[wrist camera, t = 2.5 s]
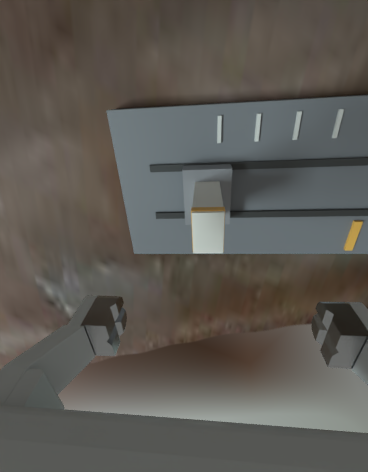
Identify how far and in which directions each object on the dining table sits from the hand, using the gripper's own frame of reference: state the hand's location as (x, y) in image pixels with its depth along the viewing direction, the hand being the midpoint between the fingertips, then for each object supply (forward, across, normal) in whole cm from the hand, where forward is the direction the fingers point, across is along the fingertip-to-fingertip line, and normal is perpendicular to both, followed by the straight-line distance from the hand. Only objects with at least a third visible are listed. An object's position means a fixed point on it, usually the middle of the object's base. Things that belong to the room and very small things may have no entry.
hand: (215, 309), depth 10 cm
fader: (+14, 0, 0) cm, 14 cm away
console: (+16, -7, 0) cm, 17 cm away
